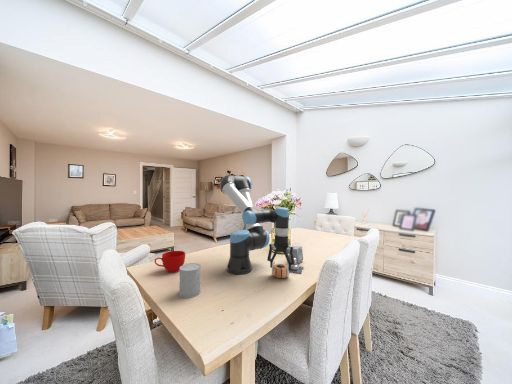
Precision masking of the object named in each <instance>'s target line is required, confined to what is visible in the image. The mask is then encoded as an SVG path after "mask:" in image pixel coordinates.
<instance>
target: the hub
mask: <svg viewBox="0 0 512 384" xmlns="http://www.w3.org/2000/svg"><path fill="white" fill-rule="evenodd" d="M294 261H295V263H294V265H291V270H290V271H289V273H292V272H293V273H294V274H298V273H299V274H301V275H302V272H303V271H302V270H304V268H305V267H304V266H301V265H300V263H298V264H297V263H296V258H294ZM293 273H292V274H293Z"/></svg>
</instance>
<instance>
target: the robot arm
mask: <svg viewBox="0 0 512 384" xmlns="http://www.w3.org/2000/svg"><path fill="white" fill-rule="evenodd" d="M252 185H253V183H252V180H251V178H250V177H249V176H247V175H246V176H245V175H236V174H235V175H233V174H228V175H227V174H226V175H225V176H223V177H222V178H221V180H220V182H219V188H220V191H221V192H222V193H223V195H226V196H227V197H228V198H229V200H230V201H231V202H232V203H233V204H234V206H235V207H236V208H237V210H238V211H240V213H241V214H242V216H241V218H242V219H241V220H242V222H243V223H244V224H245V225H246V229H238V230H235V231H233V232H231V234H230V236H229V237H230V238H229V242H230V243H229V245H230V246H229V249H230V250H229V251H230V252H229V259H228V262H227V265H226V272H228V273H229V274H234V275H245V274H248V273H251V272H252V270H253V265H252V261H251V258H250V252H251V251H255V250H259V249H260V250H261V249H264V248H266V247H267V246H268V245H269V246H268V247H269V249H268V254H267V261H268V262H269V263H270V265H269V267H270V269H271V275H273V266H274V265H275V259H276V256H277V254H278V252H281V253H283V254H284V257H285V259H286V262H287V264H286V265H287V277H286V278H289V276H290V272H289V271H290V270H291V265H294V263H295V261H294V254H293V246H294V245H289V236H288V235H289V222H290V221H289V220H290V219H289V218H290V210H289V208H288V207H282V206H279V207H275V209H271V208H263V209H256V208H255V207H254V203H253V200H252V197H251V194H250V193H251V190H252V187H253V186H252ZM263 223H264V224H266V223H274V225H275V226H274V234H275V235H274V242H273V243H272V242H270V233H269V231H268V230H267V229H264V227H263V225H261V224H263ZM273 248H275V251H274V252H273ZM287 249H289V250H290V255H291V260H290V258H289V253H288V252H287Z"/></svg>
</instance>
